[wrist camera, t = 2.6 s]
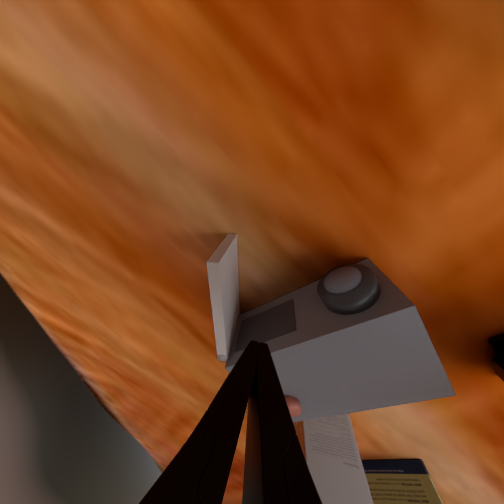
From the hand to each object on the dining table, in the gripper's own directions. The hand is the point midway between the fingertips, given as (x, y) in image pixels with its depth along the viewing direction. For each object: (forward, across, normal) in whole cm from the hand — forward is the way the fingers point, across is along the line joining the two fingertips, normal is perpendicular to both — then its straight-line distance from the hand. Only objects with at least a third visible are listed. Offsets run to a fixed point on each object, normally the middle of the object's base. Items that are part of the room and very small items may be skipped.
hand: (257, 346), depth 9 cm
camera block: (+9, -6, +6) cm, 13 cm away
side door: (+9, +3, +3) cm, 10 cm away
